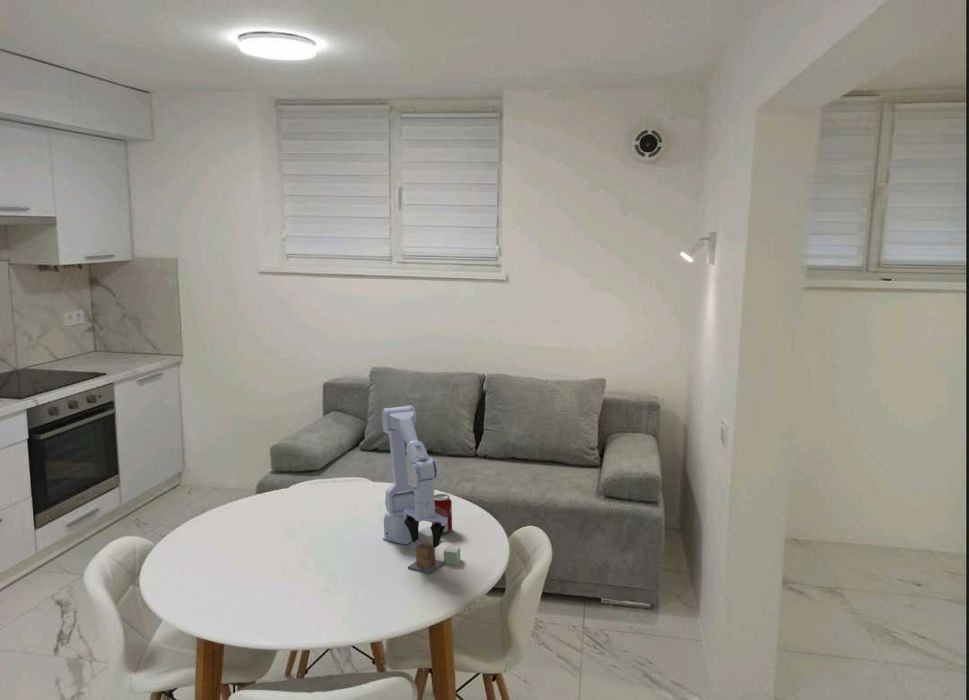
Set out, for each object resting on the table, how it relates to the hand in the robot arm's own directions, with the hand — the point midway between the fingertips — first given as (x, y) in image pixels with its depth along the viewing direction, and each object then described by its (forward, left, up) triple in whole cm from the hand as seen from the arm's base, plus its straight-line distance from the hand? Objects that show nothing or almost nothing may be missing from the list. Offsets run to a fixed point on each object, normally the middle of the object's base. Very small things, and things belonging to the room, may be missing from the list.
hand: (425, 543), depth 222 cm
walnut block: (0, 0, -7) cm, 7 cm away
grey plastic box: (-10, +16, -8) cm, 21 cm away
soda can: (-10, +24, -7) cm, 27 cm away
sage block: (+5, +6, -7) cm, 11 cm away
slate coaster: (0, 0, -7) cm, 7 cm away
